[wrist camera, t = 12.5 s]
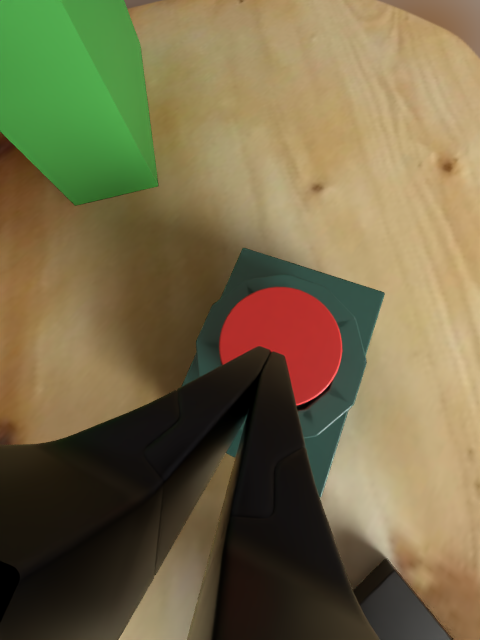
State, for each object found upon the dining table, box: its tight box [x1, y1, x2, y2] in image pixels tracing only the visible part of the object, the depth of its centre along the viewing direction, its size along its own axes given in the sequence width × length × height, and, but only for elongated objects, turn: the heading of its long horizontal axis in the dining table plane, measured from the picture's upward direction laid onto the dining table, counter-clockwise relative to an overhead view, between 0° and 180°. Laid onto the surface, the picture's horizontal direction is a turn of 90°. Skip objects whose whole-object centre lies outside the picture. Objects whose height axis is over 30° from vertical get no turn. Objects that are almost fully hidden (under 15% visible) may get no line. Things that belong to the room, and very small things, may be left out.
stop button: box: [219, 287, 342, 405], centre depth 13 cm, size 5×5×2 cm
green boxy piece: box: [181, 248, 385, 497], centre depth 17 cm, size 11×8×6 cm
